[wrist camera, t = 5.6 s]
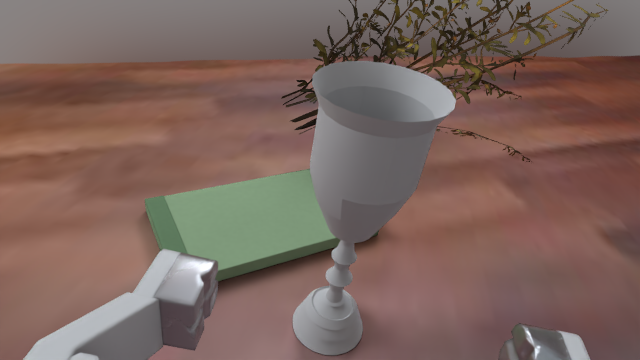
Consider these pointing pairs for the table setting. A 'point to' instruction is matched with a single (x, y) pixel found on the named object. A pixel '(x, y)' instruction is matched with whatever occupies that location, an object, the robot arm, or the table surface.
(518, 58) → the dried plant
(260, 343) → the table surface
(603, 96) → the table surface
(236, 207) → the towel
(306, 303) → the chalice
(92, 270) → the table surface
